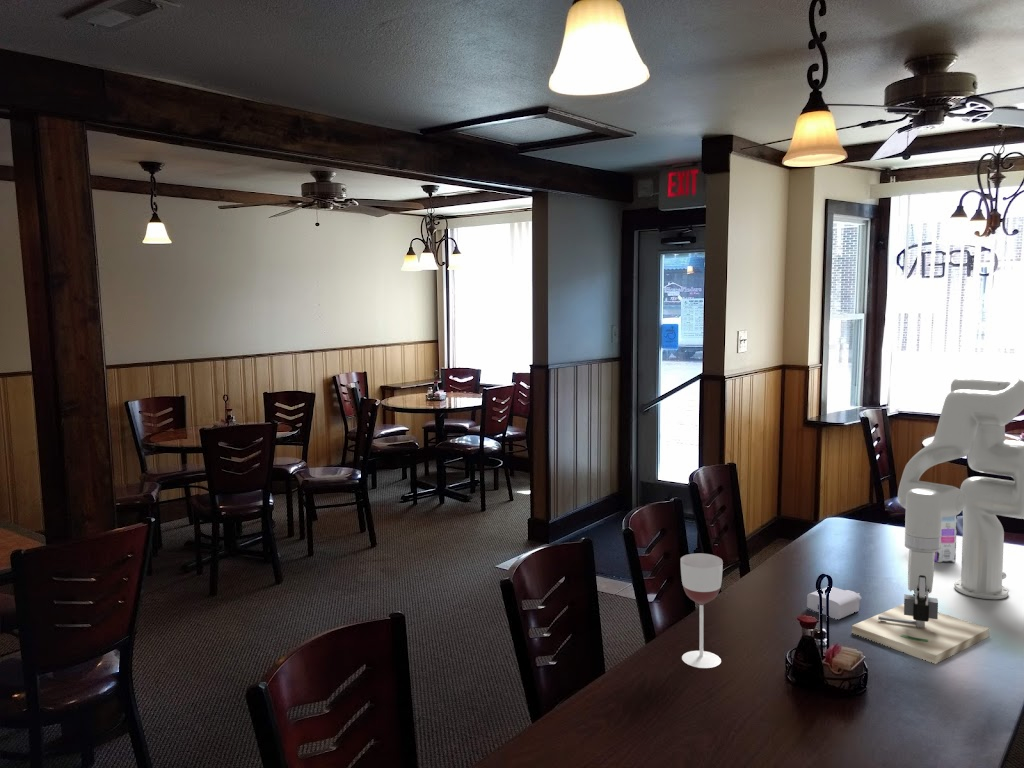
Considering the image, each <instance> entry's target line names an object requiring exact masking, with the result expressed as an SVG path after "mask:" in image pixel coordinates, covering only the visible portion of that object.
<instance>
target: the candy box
mask: <svg viewBox="0 0 1024 768" xmlns="http://www.w3.org/2000/svg"><path fill="white" fill-rule="evenodd" d="M957 525H958V515H956V516H954V517H948V518H942V521H941V550H940V551H938V552H935V558H934V562H937V563H956V559H957V557H956V555H957V553H956V551H957V530H958V529H957V528H958V526H957Z"/></svg>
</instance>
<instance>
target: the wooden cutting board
mask: <svg viewBox="0 0 1024 768" xmlns="http://www.w3.org/2000/svg"><path fill="white" fill-rule="evenodd" d="M878 616H883V617H890V618H897V619H904V620H911V621H915V622H916V620H914V619H913V616H909V615H904V603H902V604H899V605H898V606H895V607H893V608H891V609H887V610H886V611H885V610H884V612H880V613H879V614H875V615H874V616H872V617H869V618H867V619H864V620H862V621H860V622H857V623H855V624H852V625H851V634H852V633H854V634H853V635H855V634H856V635H855V636H857V635H859V636H858V637H860V636H862V637H861V638H863V637H864V638H863V639H865V638H867V639H866V640H868V639H869V640H868V641H871V640H872V641H871V642H874V641H875V642H874V643H876V642H877V644H879V643H881V644H880V645H882V644H883V645H882V646H884V645H885V647H887V646H888V647H887V648H890V647H891V648H890V649H894V650H896V651H899V652H902V653H903V652H904V654H907V655H909V656H911V657H914V658H917V659H920V660H922V659H923V661H925V660H926V662H928V663H931V662H932V663H931V664H933V663H935V664H934V665H937V664H939V663H941V662H943V661H945V660H947V659H948V657H949V658H951V657H952V655H953V656H954V655H956V654H958V653H960V652H962V651H964V650H966V649H968V648H970V647H972V646H973V645H975V644H977V643H979V642H981V641H983V640H985V639H987V638H989V637H990V627H986V626H984V625H980V624H977V623H974V622H970V621H968V620H965V619H961V618H958V617H954V616H951V615H948V614H945V613H941V612H939V611H938V619H931V618H929V621H928V622H926V621H925V627H924V628H919V627H916V626H915V625H913V624H906V623H899V622H892V621H885V620H878ZM950 656H951V657H950ZM946 658H947V659H946ZM944 659H945V660H944ZM942 660H943V661H942ZM940 661H941V662H940ZM938 662H939V663H938ZM936 663H937V664H936Z"/></svg>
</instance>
